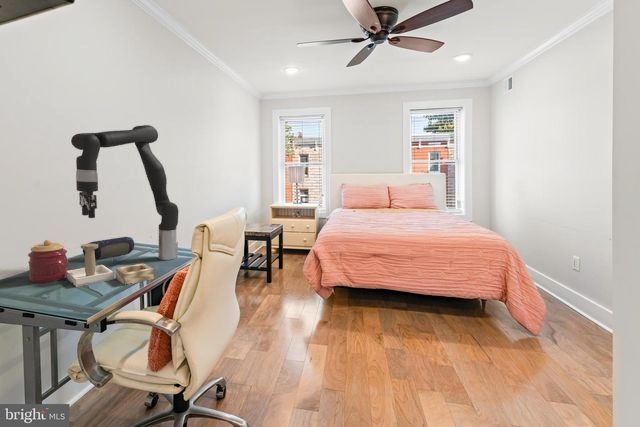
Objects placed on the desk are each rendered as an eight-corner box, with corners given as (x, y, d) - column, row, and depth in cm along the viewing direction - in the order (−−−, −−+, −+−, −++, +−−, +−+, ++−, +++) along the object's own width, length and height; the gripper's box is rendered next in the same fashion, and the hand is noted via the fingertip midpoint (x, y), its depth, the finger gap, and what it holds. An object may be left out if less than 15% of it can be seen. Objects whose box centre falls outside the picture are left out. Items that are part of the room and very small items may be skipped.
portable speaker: (91, 263, 158) (90, 244, 157) (80, 259, 163) (80, 241, 161) (137, 253, 181) (137, 237, 179) (127, 250, 185) (127, 234, 184)
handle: (93, 279, 136) (93, 246, 133) (79, 278, 135) (78, 245, 133) (101, 275, 140) (100, 244, 138) (87, 274, 140) (86, 243, 138)
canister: (74, 276, 139) (72, 239, 136) (39, 285, 127) (36, 245, 125) (58, 271, 144) (56, 235, 141) (23, 279, 132) (20, 240, 130)
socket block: (143, 272, 150) (143, 263, 149) (153, 278, 143) (153, 268, 143) (115, 278, 140) (115, 268, 140) (125, 285, 134) (125, 274, 133)
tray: (102, 271, 148) (102, 264, 147) (113, 279, 139) (113, 272, 139) (66, 278, 136) (66, 270, 136) (76, 287, 128) (75, 279, 128)
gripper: (103, 181, 130) (104, 218, 133) (91, 179, 139) (93, 213, 141) (81, 181, 124) (83, 219, 127) (71, 178, 133) (73, 215, 135)
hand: (88, 216), depth 134 cm, fingers open, 8 cm apart
